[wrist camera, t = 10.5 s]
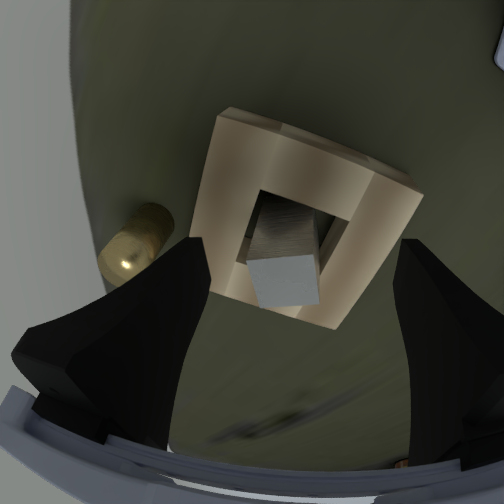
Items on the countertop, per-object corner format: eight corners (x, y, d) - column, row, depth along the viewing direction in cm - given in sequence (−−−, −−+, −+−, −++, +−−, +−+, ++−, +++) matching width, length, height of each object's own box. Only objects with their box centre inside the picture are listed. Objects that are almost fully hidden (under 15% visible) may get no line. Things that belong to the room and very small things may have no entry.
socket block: (409, 175, 18) (423, 195, 15) (334, 302, 25) (335, 329, 23) (230, 106, 17) (217, 115, 15) (193, 255, 25) (180, 280, 22)
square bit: (312, 190, 20) (313, 254, 14) (318, 232, 22) (319, 304, 16) (264, 196, 21) (245, 260, 15) (273, 237, 22) (260, 308, 17)
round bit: (177, 210, 22) (142, 259, 18) (171, 244, 24) (140, 295, 19) (138, 197, 22) (96, 242, 17) (135, 231, 24) (98, 279, 19)
